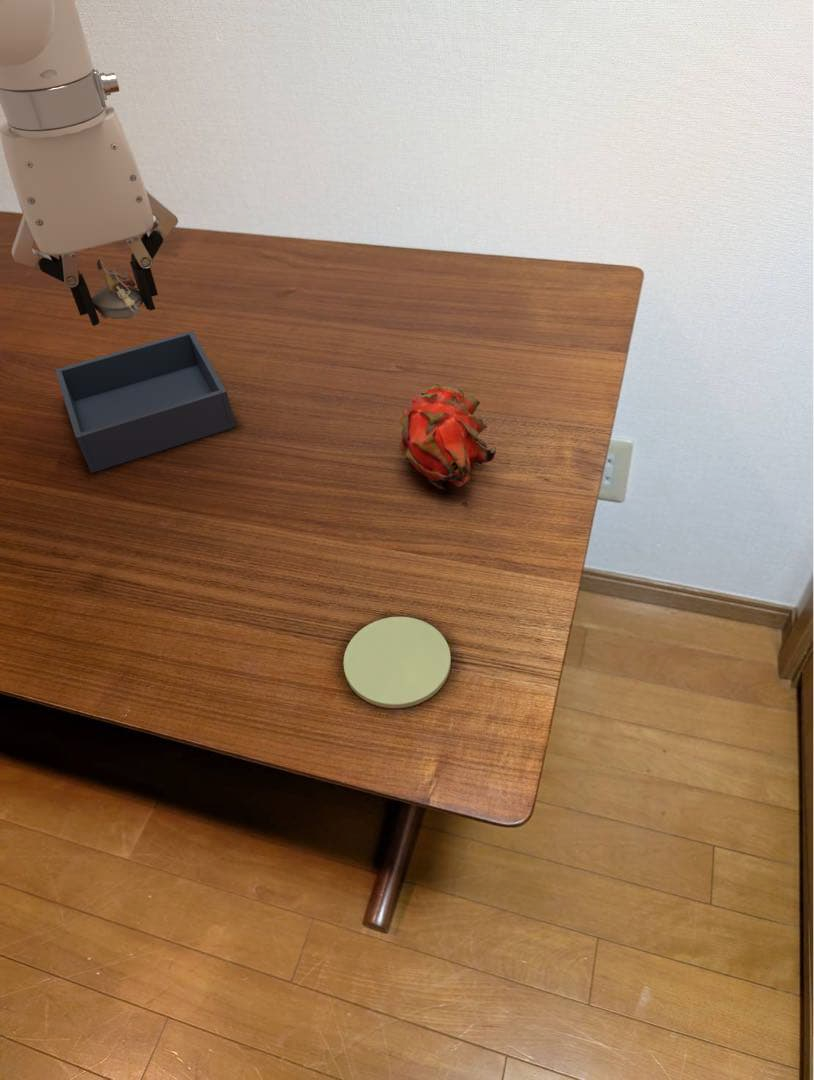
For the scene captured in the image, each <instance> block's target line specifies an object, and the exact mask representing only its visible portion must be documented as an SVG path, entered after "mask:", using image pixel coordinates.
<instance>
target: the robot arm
mask: <svg viewBox="0 0 814 1080" xmlns="http://www.w3.org/2000/svg"><path fill="white" fill-rule="evenodd" d="M85 36H86V35H85V32H84V30H83V26H82V23H81V19H80V16H79V12H78V7H77V4H76V2H75V0H0V106H1V108H2V109H1V110H2V111H3V115H4V117H5V120H6V121H5V122H4V123H2V124H1V125H0V141H1V145H2V150H3V154H4V158H5V161H6V165H7V169H8V173H9V175H10V178H11V181H12V184H13V187H14V191H15V194H16V197H17V200H18V203H19V206H20V209H21V212H22V217H21V220H20V223H19V226H18V229H17V232H16V235H15V239H14V241H13V245H12V247H11V256H12V259H13V261H14V262H15V263H16V264H19V265H22V266H26V267H28V268H31V269H35V270H39V271H41V272H42V273H44V274H46V275H47V276H50V277H52V278H54V279H56V280H58V281H60V282H62V283H64V284H65V285H66V287H68V288H69V289H70V292H71V295H72V297H73V300H74V303H75V306H76V308H77V311H78V313H79V316H84V315H87V316H88V318H89V320H90V323H91V325H92V327H94V326H98V325H99V324H101V321H100V318H99V316H98V315H99V314H98V313H97V310H96V309H95V307H94V304H93V301H92V296H91V292H90V290H89V287H88V284H87V282H86V279H85V278H84V276H83V273H80V270H79V265H78V254H77V253H78V252H82V251H87V250H91V249H95V248H100V247H104V246H107V245H111V244H116V243H119V242H124V241H125V243H126V244H127V246H128V248H129V250H130V251H131V255H130V261H129V264H130V267H131V270H132V273H133V274H132V275H133V277H134V280H135V285H136V288H138V289H137V290H138V291H139V292H140V293H141V296H142V298H143V305H144V307H145V308H146V310H149V312H151V311H154V310H156V307H155V304H154V300H153V297H155V296H159V293H158V289H157V286H156V283H155V279H154V276H153V272H152V269H151V267H152V266H153V259H154V258H155V256H156V255H157V254H158V251H159V249H160V248H161V247H162V245H163V243H164V240H165V238H167V237H168V236H169V235H170V233H172V231H173V230H174V228H175V227H176V226H177V225H178V223H179V218H178V217H177V216H176V214H175V213H174V211H173V210H171V209H170V208H169V207H168V206H167V205H165V204H164V203H163V202H162V201H161V200H160V199H158V198H157V197H156V196H155V195H154V194H152V193H151V192H150V191H149V190H147V188H146V187H145V184H144V181H143V177H142V174H141V172H140V169H139V166H138V163H137V160H136V157H135V155H134V152H133V150H132V148H131V146H130V142H129V141H128V138H127V135H126V132H125V130H124V127H123V125H122V122H121V120H120V118H119V116H118V114H117V112H116V110H115V108H114V106H113V105H111V104H108V103H106V101H107V100H108V97H107V96H111V95H112V94H113V93H118V92H120V86H119V82H118V80H117V76H116V74H115V72H111V73H105V72H99V70H98V69H96V68H94V64H93V60H92V57H91V53H90V50H89V47H88V43H87V40H86V37H85ZM154 217H155V219H154ZM35 244H36V246H37V248H38V250H37V249H34V245H35Z"/></svg>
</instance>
